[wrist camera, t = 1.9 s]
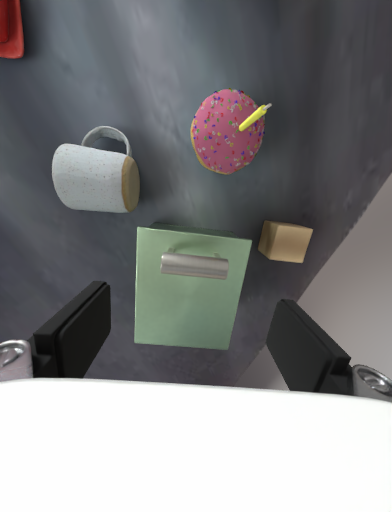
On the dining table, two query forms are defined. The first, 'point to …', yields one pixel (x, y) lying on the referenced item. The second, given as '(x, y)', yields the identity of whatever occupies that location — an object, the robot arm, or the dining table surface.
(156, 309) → the lid
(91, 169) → the ceramic mug
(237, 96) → the cupcake
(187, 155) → the dining table surface
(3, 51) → the butter dish
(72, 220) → the dining table surface
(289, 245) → the block
